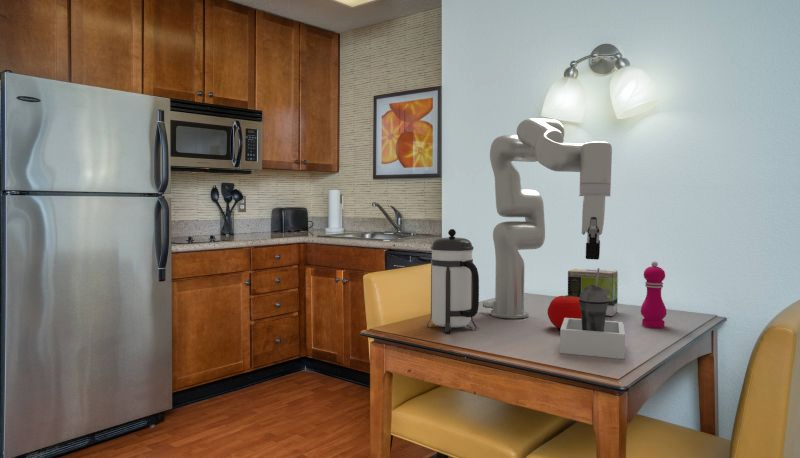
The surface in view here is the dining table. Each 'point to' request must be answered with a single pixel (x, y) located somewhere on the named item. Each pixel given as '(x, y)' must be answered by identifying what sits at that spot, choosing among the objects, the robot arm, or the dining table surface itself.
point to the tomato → (563, 309)
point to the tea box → (588, 277)
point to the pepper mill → (653, 298)
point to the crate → (592, 339)
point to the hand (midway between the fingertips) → (592, 257)
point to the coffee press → (453, 283)
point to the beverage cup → (593, 307)
